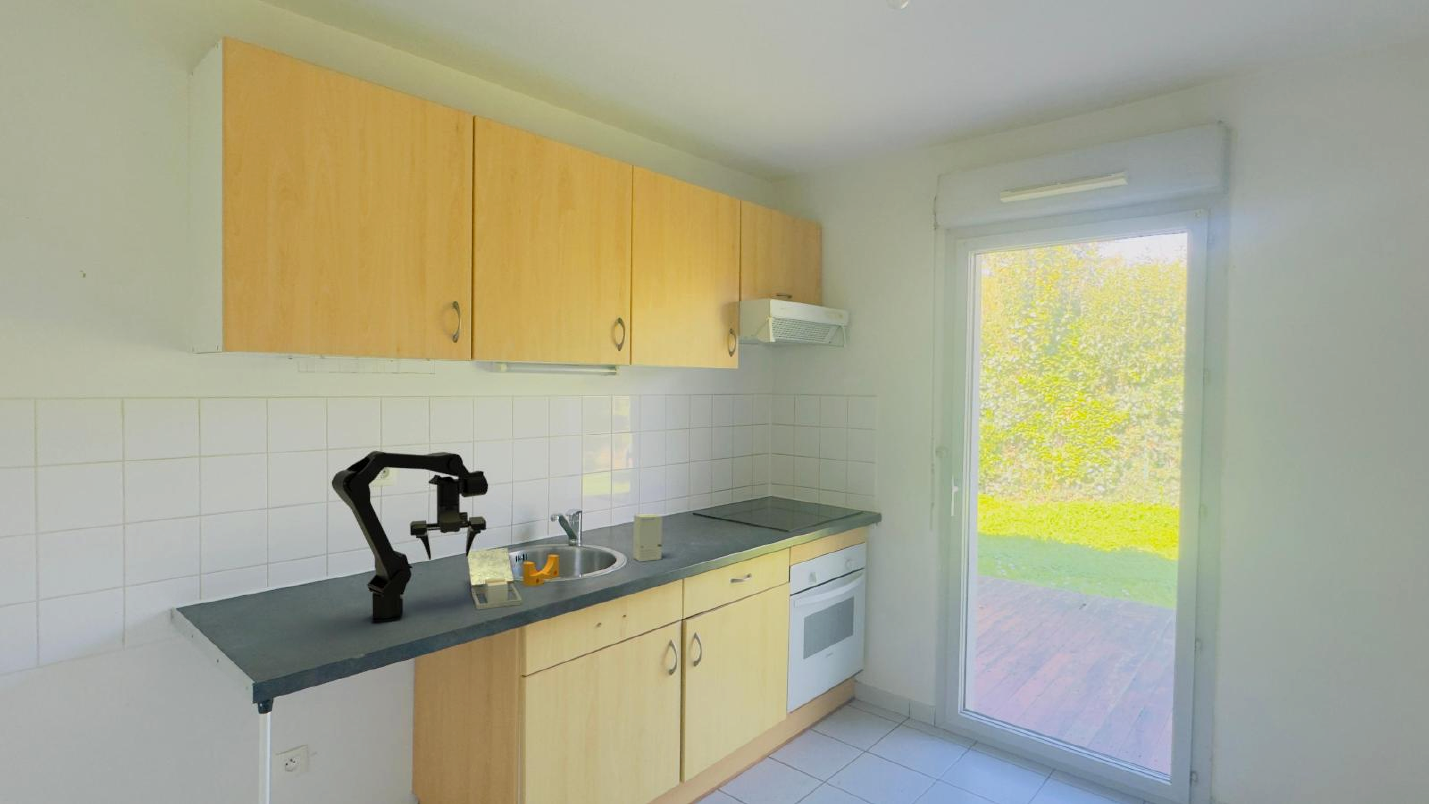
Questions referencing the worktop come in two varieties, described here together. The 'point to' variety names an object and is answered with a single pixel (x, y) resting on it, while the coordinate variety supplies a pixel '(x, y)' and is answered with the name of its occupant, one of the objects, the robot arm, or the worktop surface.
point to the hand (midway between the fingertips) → (448, 557)
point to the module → (496, 590)
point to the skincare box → (647, 537)
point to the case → (490, 574)
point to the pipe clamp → (548, 572)
